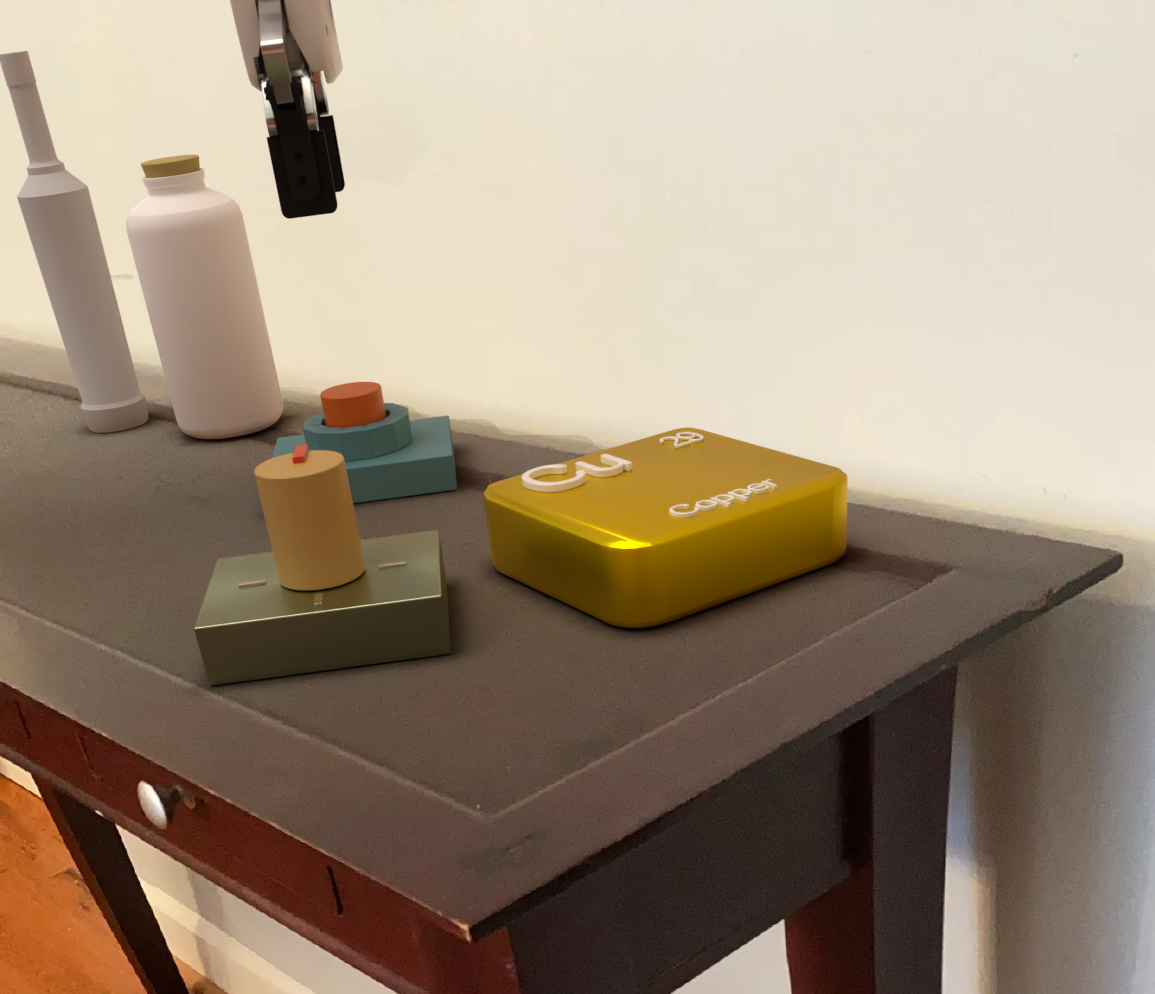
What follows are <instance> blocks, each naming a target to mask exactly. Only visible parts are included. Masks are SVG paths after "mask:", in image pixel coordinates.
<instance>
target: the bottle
mask: <svg viewBox="0 0 1155 994" xmlns="http://www.w3.org/2000/svg"><path fill="white" fill-rule="evenodd" d="M0 67H1V70H2V73H3V74H2V75H3V77H4V81H5V84H6V87H8V91H9V95H10V98H11V102H12V106H13V108H14V112H15V115H16V119H17V122H18V126H19V129H20V133H21V136H22V140H23V143H24V147H25V150H26V154H27V157H28V160H29V162H28V163H29V164H28V165H27V167H26V171H27V177H26V179H25V180H24V183H23V184H22V186H21V188H20V190H19V192H18V194H17V196H16V198H17V202H18V205H19V208H20V211H21V214H22V217H23V220H24V223H25V226H26V227H25V228H26V230H27V233H28V237H29V239H30V243H31V246H32V249H33V252H34V255H35V259H36V261H37V263H38V267H39V271H40V273H41V277H42V280H43V283H44V286H45V290H46V293H47V296H48V299H49V302H50V305H51V308H52V311H53V315H54V318H55V321H56V324H57V327H58V330H59V333H60V336H61V340H62V342H63V347H64V349H65V353H66V355H67V358H68V362H69V364H70V368H71V371H72V374H73V377H74V381H75V384H76V386H77V390H78V393H79V396H80V399H81V404H80V407H79V408H80V412H81V415H82V418H83V420H84V423H85V425H86V426H87V428H88V429H89V430H90V432H92V433H98V434H101V433H114V432H121V431H127V430H130V429H134V428H137V427H139V426H142V425H144V424H146V423H147V422H148V420H149V407H148V403H147V400H146V395H145V394H144V393H143V392H141V390H140V386H139V382H138V378H137V374H136V370H135V366H134V363H133V358H132V355H131V351H130V347H129V343H128V339H127V335H126V330H125V327H124V323H123V320H122V316H121V315H122V314H121V311H120V307H119V305H118V300H117V295H116V292H115V288H114V284H113V281H112V275H111V272H110V267H109V265H108V261H107V260H108V259H107V256H106V254H105V253H106V252H105V249H104V245H103V241H102V237H101V232H100V229H99V224H98V220H97V217H96V213H95V209H94V205H93V201H92V197H91V194H90V190H89V185H87V184H86V183H84V182H83V181H82V180H81V179H79V178H78V177H76V176H75V175H73V174H72V173H71V172H69V171H68V170H67V169H66V166H65V163H64V162H63V161H61V160H60V159H59V157H57V153H56V149H55V146H54V142H53V139H52V135H51V131H50V128H49V124H48V121H47V118H46V115H45V110H44V107H43V103H42V100H41V96H40V93H39V90H38V86H37V79H36V76H35V75H36V74H35V72H34V68H33V65H32V62H31V58H30V54H29V51H28V50H22V51H21V50H20V51H13V52H6V53H0Z"/></svg>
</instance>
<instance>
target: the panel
mask: <svg viewBox="0 0 1155 994" xmlns="http://www.w3.org/2000/svg"><path fill="white" fill-rule="evenodd" d="M360 542H361V547H362V552H363V557H364V563H365V570H364V572H363V574H362V575H360V576H359V577H358V578H356V579H354V580H352V581H350V582H348V583H345V584H342V585H339V586H336V587H332V588H327V589H320V590H293V589H289V588H286V587H284V586H283V585H281V583H280V581H279V577H278V573H277V569H276V565H275V560H274V556H273V552H272V551H268V552H259V553H252V554H245V555H237V556H229V557H222V558H217V559H216V561H215V565H214V567H213V571H212V574H211V577H210V579H209V582H208V585H207V589H206V591H205V595H204V598H203V601H202V603H201V607H200V609H199V612H198V616H197V620H196V622H195V625H194V629H193V630H194V633H195V638H196V641H197V645H198V648H199V652H200V655H201V659H202V663H203V666H204V669H205V673H206V677H207V681H208V684H209V686H213V687H214V686H220V685H228V684H235V683H243V682H250V681H258V680H265V679H273V678H279V677H288V676H295V675H302V674H311V673H317V672H325V671H326V672H327V671H333V670H340V669H347V668H355V667H362V666H369V665H377V664H384V663H385V664H386V663H392V662H400V661H409V660H415V659H422V658H430V657H436V656H437V657H438V656H445V655H450V654H451V653H452V650H451V649H452V648H451V631H450V613H449V597H448V595H449V594H448V581H447V574H446V568H445V563H444V562H445V561H444V556H443V549H442V544H441V543H442V542H441V537H440V531H439V530H438V529H434V530H426V531H425V530H424V531H419V532H411V533H405V534H397V535H389V536H382V537H374V538H366V539H360Z"/></svg>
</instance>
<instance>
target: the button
mask: <svg viewBox="0 0 1155 994" xmlns="http://www.w3.org/2000/svg"><path fill="white" fill-rule="evenodd" d="M319 397H320V402H321V408H322V412H324V417H325V423H326V426H327V427H332V428H347V427H355V426H362V425H367V424H371V423H374V422H378V421H381V420H383V419H385V418H387V417H386V412H385V406H384V403H385V400H384V396H383V389H382V385H381V384H380V383H378V382H376V381H375V382H374V381H354V382H347V383H341V384H337V385H334V386H330V387H327V388H326V389H324V390H322V391H320V393H319Z"/></svg>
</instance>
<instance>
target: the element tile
mask: <svg viewBox="0 0 1155 994" xmlns="http://www.w3.org/2000/svg"><path fill="white" fill-rule="evenodd" d="M848 484H849V483H848V473H846V472H844V471H843V470H842V469H841V468H839V467H837V466H833V465H829V464H826V463H822V462H819V461H815V460H811V459H809V458H804V457H800V456H797V455H793V454H790V453H786V452H782V451H779V450H775V449H772V448H769V447H765V446H761V445H758V444H755V443H751V442H747V441H743V440H740V439H736V438H733V437H730V436H726V435H722V434H718V433H714V432H711V431H708V430H704V429H701V428H695V427H691V426H690V427H689V426H687V427H680V428H675V429H672V430H667V431H664V432H661V433H656V434H654V435H651V436H647V437H644V438H640V439H637V440H633V441H630V442H626V443H623V444H619V445H617V446H613V447H609V448H607V449H603V450H600V451H596V452H593V453H589V454H586V455H582V456H579V457H576V458H572V459H568V460H566V461H561V462H559V463H554V464H545V465H541V466H537V467H534V468H531V469H528V470H526V471H525V472H523V473H522V474H517V475H514V476H512V477H508V478H504V479H500V480H498V481H495V482H492V483H490V484H488V485H487V487H486V488H485V490H484V491H483V494H482V496H483V504H484V512H485V518H486V527H487V534H488V540H489V547H490V555H491V560H492V564H493V567H494V568H495V569H496V570H497V571H498V572H499V573H501V574H502V575H505V576H507V577H508V578H509V577H510V578H511V579H513V580H516V581H518V582H520V583H522V584H524V585H526V586H529V587H530V588H533V589H535V590H536V591H538V592H541V593H543V594H544V595H547V596H549V597H552V598H553V599H556V600H558V601H560V602H562V603H564V604H566V605H567V606H571V607H572V608H574V609H577V610H579V611H581V612H583V613H586V614H587V615H590V616H591V617H593V618H595V619H598V620H600V621H602V622H605V623H607V624H608V625H611V626H614V627H617V628H625V629H647V628H652V627H658V626H662V625H666V624H670V623H672V622H674V621H677V620H679V619H680V620H681V619H682V618H685V617H688V616H691V615H694V614H696V613H699V612H702V611H705V610H708V609H711V608H713V607H716V606H719V605H722V604H725V603H726V602H730V601H733V600H736V599H738V598H741V597H743V596H747V595H749V594H752V593H755V592H758V591H760V590H763V589H766V588H769V587H773V586H774V585H777V584H780V583H782V582H786V581H787V580H791V579H793V578H797V577H799V576H802V575H805V574H808V573H810V572H814V571H816V570H818V569H821V568H824V567H827V566H830V565H832V564H834V563H835V562H837V561H838V560H839V559H841V558H842V557H844V556H845V554H846V550H847V537H848V536H847V533H848Z"/></svg>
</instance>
